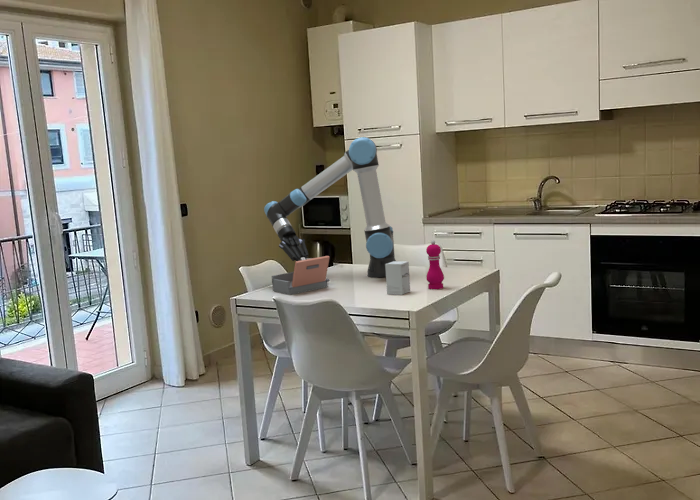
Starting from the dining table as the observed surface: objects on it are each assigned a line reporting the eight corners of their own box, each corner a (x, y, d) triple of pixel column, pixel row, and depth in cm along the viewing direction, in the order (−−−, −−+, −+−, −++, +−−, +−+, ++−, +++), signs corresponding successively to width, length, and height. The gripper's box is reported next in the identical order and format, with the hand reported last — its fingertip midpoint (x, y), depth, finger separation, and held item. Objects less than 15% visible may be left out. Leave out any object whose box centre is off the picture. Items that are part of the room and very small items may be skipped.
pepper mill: (446, 286, 293) (443, 238, 290) (442, 289, 286) (439, 241, 284) (429, 286, 295) (426, 239, 293) (425, 290, 289) (422, 241, 286)
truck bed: (271, 291, 311) (270, 276, 310) (310, 283, 324) (309, 268, 323) (290, 295, 299) (288, 279, 298) (329, 286, 312) (328, 271, 311)
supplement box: (402, 295, 282) (400, 264, 280) (386, 294, 286) (384, 263, 284) (411, 291, 288) (409, 261, 287) (395, 290, 292) (393, 260, 291)
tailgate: (291, 286, 301) (295, 261, 296) (323, 279, 311) (328, 255, 306) (293, 288, 300) (297, 263, 295) (326, 281, 310) (330, 257, 305)
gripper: (294, 234, 321) (317, 273, 310) (269, 238, 314) (292, 278, 303) (299, 223, 317) (323, 262, 306) (274, 226, 309) (298, 267, 298)
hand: (308, 270), depth 304 cm, fingers closed
